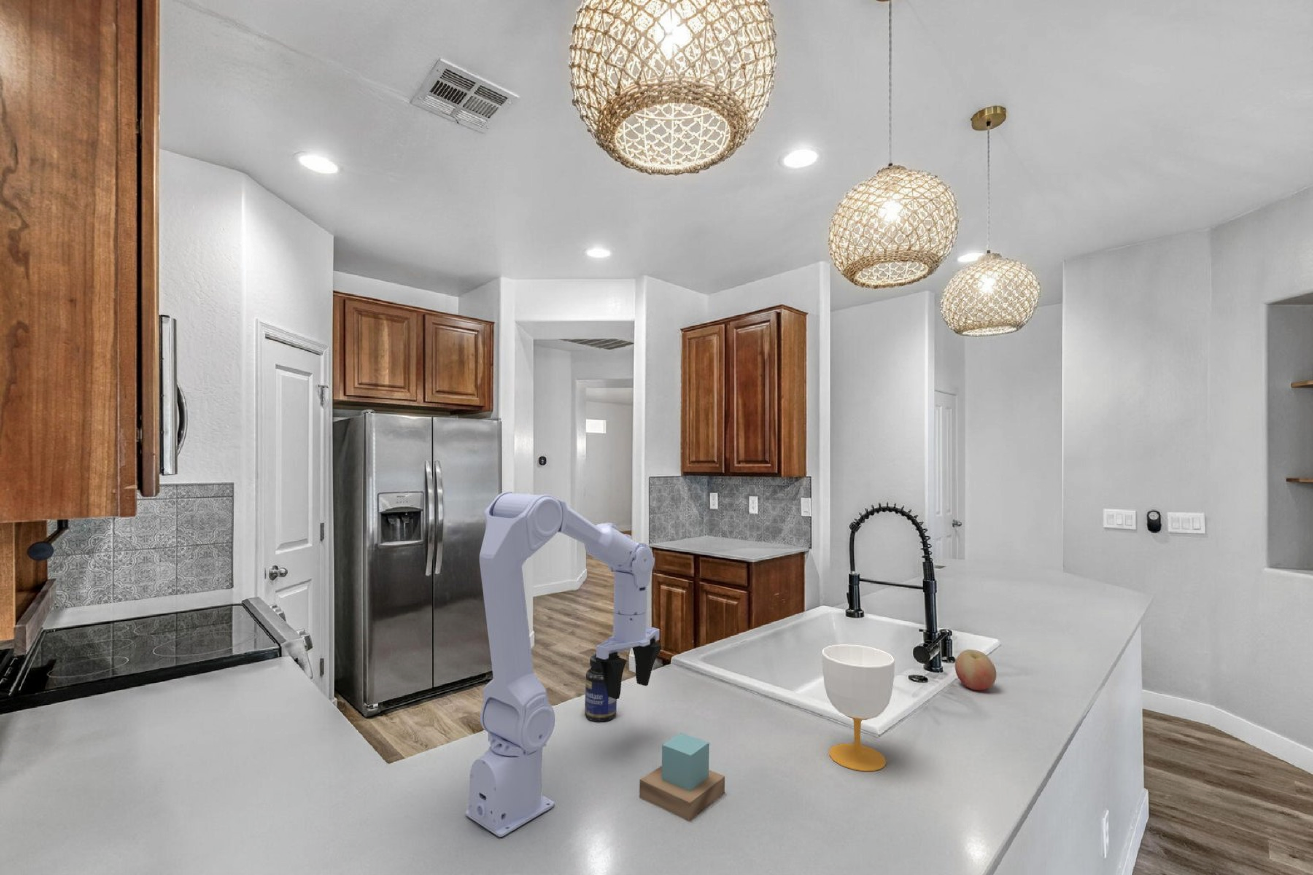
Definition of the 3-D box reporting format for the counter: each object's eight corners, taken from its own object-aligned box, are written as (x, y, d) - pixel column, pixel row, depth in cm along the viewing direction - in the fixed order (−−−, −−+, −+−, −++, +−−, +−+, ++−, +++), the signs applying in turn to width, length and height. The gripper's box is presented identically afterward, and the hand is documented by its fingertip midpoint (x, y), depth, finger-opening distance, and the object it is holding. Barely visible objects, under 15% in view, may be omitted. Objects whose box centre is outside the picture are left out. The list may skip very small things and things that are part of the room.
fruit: (959, 692, 129) (959, 655, 129) (952, 679, 137) (952, 644, 137) (1000, 697, 127) (1000, 659, 127) (990, 683, 134) (990, 648, 135)
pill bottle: (578, 718, 112) (579, 659, 113) (596, 706, 118) (597, 650, 118) (605, 725, 110) (606, 664, 110) (622, 713, 115) (623, 655, 116)
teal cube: (690, 791, 84) (690, 755, 84) (661, 779, 87) (662, 744, 87) (708, 776, 88) (709, 742, 88) (680, 765, 91) (681, 732, 91)
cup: (813, 764, 97) (814, 658, 97) (828, 735, 107) (829, 640, 108) (890, 783, 91) (890, 671, 92) (898, 751, 102) (898, 650, 102)
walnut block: (689, 825, 81) (689, 802, 81) (639, 800, 86) (639, 779, 86) (724, 796, 88) (724, 776, 88) (676, 775, 93) (676, 756, 93)
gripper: (619, 623, 94) (617, 710, 94) (673, 607, 106) (672, 684, 105) (587, 616, 99) (585, 698, 98) (642, 601, 110) (641, 674, 110)
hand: (628, 690), depth 102 cm, fingers open, 7 cm apart
